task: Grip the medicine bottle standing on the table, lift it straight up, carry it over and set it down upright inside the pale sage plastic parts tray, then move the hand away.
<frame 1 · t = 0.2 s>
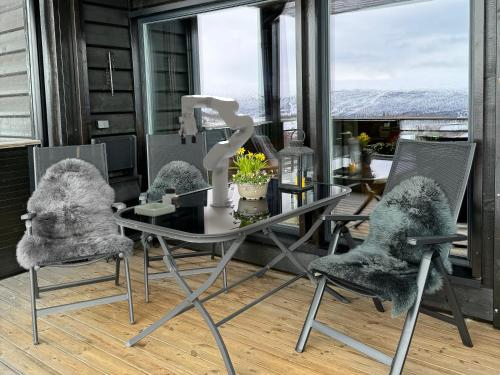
hand: (188, 143, 321), 36 cm above the table, tool pointing down, fingers open, 9 cm apart
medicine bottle: (171, 207, 308), on the table
parts tray: (155, 212, 295), on the table
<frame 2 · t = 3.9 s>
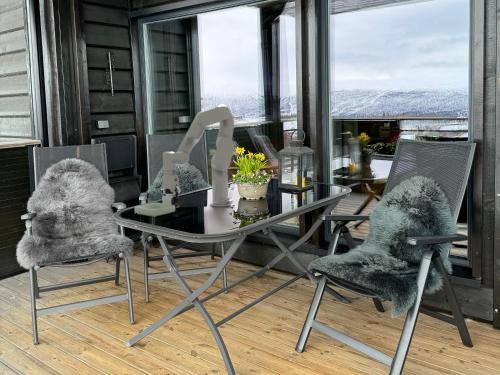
hand: (170, 201, 307), 3 cm above the table, tool pointing down, fingers closed on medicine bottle, 7 cm apart
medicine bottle: (171, 207, 308), on the table, touching gripper
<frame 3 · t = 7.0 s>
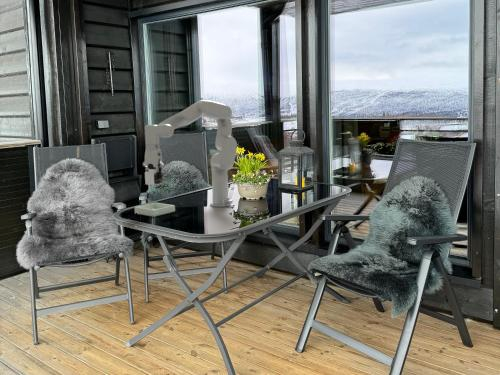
hand: (153, 178, 291), 20 cm above the table, tool pointing down, fingers closed on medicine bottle, 7 cm apart
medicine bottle: (154, 184, 292), point 16 cm above the table, touching gripper
when the fingers open (5 cm above the table, at t = 10.3 s): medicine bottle drops 1 cm, resting on parts tray.
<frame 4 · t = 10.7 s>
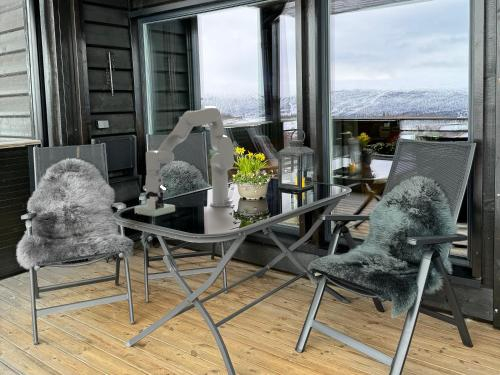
hand: (154, 202, 294), 6 cm above the table, tool pointing down, fingers open, 9 cm apart
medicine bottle: (155, 211, 295), resting on parts tray
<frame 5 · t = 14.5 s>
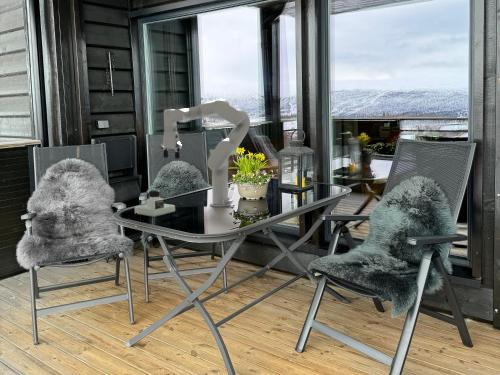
hand: (171, 157, 316), 28 cm above the table, tool pointing down, fingers open, 9 cm apart
nothing on the table moved.
at the end: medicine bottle inside the target area on the parts tray (0.2 cm from its centre), point 0.4 cm above the parts tray's base; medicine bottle tilted 0°; the gripper is holding nothing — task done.
